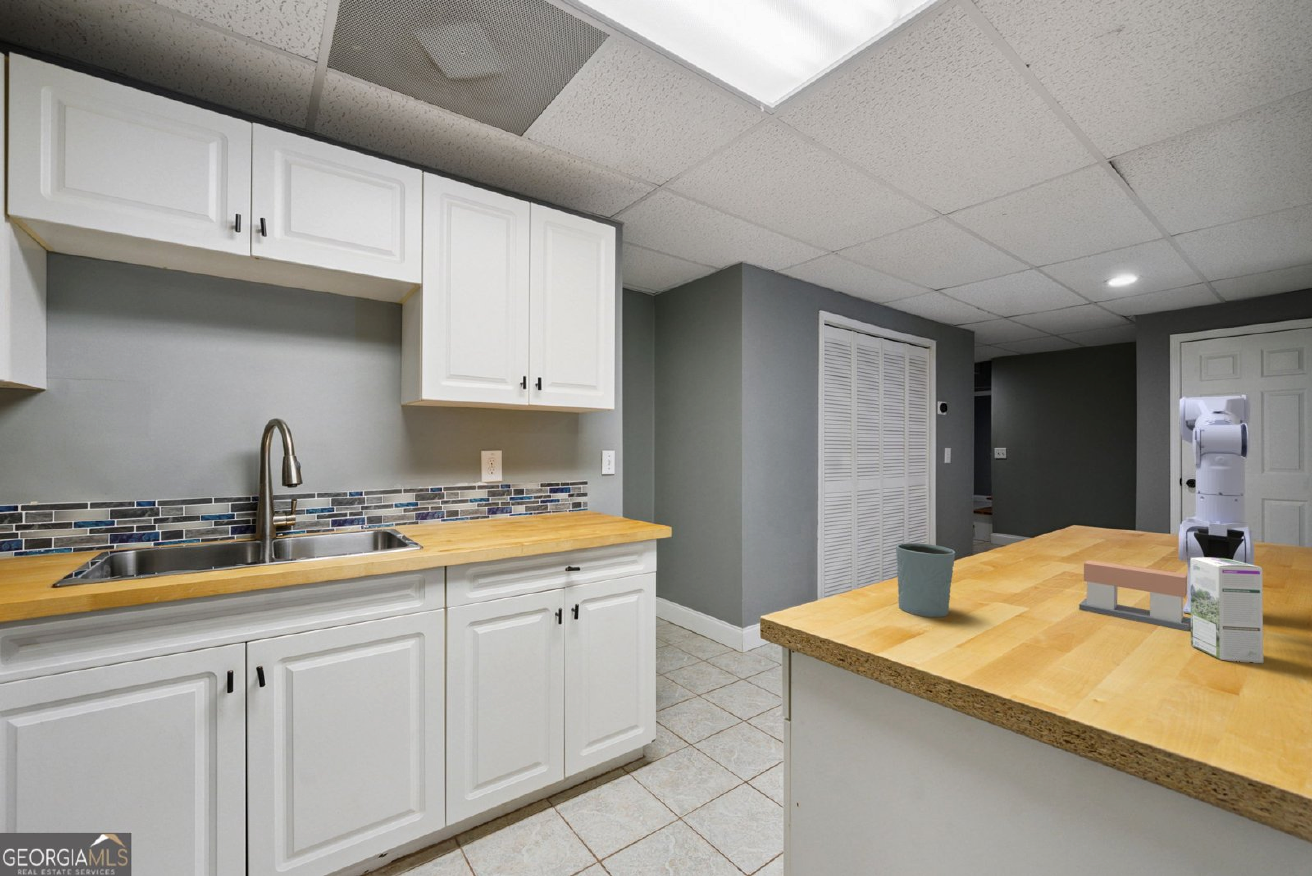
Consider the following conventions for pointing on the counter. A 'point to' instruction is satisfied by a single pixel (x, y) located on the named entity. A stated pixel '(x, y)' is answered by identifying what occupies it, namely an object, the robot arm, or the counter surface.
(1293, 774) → the counter surface
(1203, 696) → the counter surface
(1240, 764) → the counter surface
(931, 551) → the grey green cup
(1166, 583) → the beam
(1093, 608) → the arch base
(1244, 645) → the syrup box
